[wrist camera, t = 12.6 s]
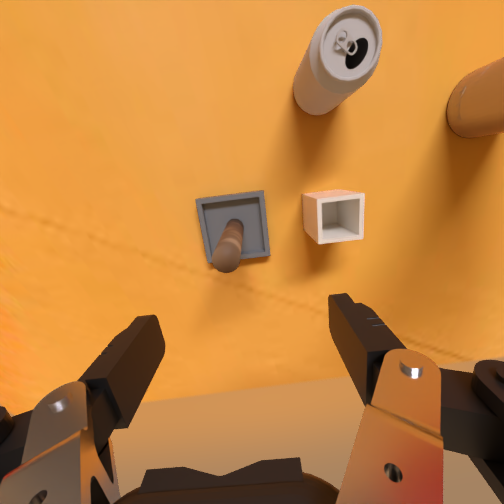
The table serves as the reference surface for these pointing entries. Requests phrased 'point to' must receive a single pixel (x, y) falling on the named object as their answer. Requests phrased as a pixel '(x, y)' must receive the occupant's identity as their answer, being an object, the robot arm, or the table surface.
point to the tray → (235, 207)
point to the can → (338, 59)
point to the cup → (333, 215)
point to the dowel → (229, 247)
